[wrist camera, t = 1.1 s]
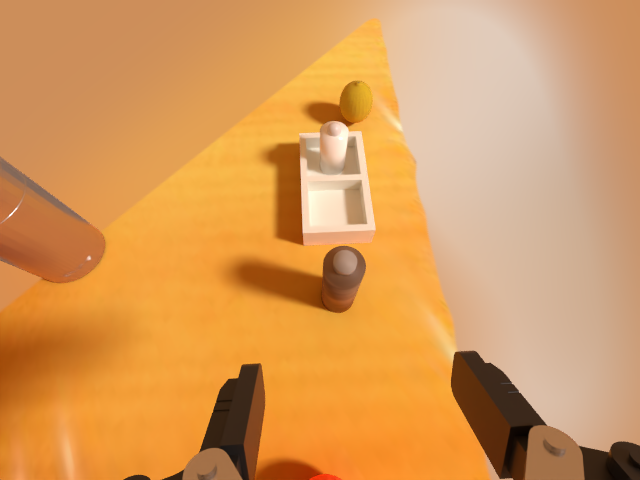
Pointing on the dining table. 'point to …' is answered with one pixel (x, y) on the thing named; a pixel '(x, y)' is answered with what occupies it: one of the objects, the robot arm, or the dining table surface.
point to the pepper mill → (341, 277)
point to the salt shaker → (333, 147)
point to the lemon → (356, 101)
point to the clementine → (325, 477)
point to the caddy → (335, 195)
